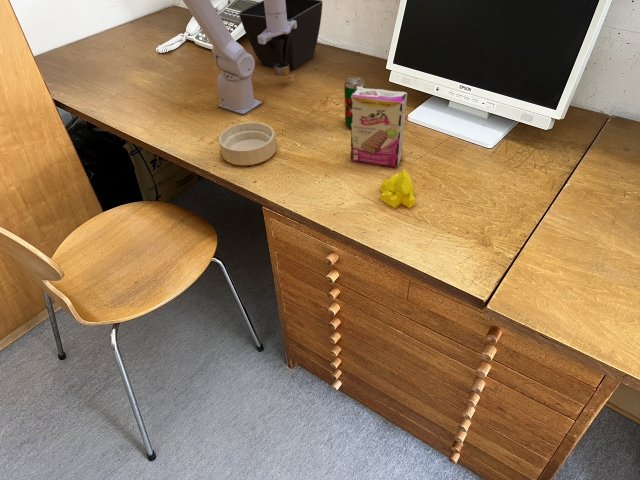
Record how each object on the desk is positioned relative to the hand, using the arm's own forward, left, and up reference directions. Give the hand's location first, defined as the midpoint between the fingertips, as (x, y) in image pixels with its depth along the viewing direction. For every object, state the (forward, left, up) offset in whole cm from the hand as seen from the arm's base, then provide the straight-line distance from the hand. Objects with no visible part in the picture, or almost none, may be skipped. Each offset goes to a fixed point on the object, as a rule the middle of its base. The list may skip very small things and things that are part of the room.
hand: (281, 61), depth 137 cm
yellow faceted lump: (+55, -30, -8) cm, 63 cm away
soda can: (+31, -9, -8) cm, 33 cm away
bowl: (+16, -33, -7) cm, 37 cm away
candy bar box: (+44, -20, -8) cm, 49 cm away
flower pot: (-11, +15, -8) cm, 19 cm away
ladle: (0, 0, -3) cm, 3 cm away
